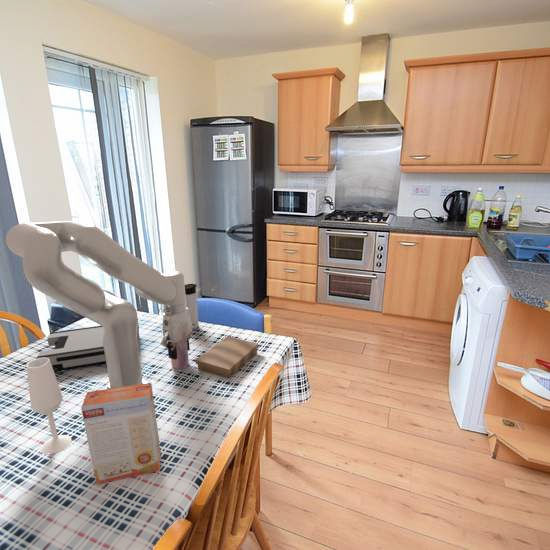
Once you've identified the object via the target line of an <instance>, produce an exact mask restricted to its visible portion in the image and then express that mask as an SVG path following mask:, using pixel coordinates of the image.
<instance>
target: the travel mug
mask: <svg viewBox="0 0 550 550" xmlns="http://www.w3.org/2000/svg"><path fill="white" fill-rule="evenodd" d="M185 296H186V307H187V308H188V310H189V313H190V317H191V323H192V326H193V329H192V332H193V331H196V330H198V329H199V327H200V326H199V325H200V324H199V323H200V322H199V311H198V310H199V309H198V296H197V283H196V284H195V283H187V284H185Z"/></svg>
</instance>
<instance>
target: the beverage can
mask: <svg viewBox="0 0 550 550" xmlns="http://www.w3.org/2000/svg"><path fill="white" fill-rule="evenodd" d="M181 333H182V339H181V340H180V341H178V342H176V343H175V349H176V353H177V359H176V360H174V359H171V358H170V360H171V362H170V363H171V366H172V367H173V368H174V369H176V370H182V369H184V368H187V367H188V365H189V363H190V359H189V351H188V346H187V336H186V332H185V330H184V329H182V332H181ZM170 345H171V346H172V342H170Z"/></svg>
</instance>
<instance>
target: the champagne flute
mask: <svg viewBox="0 0 550 550" xmlns="http://www.w3.org/2000/svg"><path fill="white" fill-rule="evenodd" d="M36 358H37V357H36ZM36 358H35V359H32V360H30V361H29V362H27V363H26V365H25V366H26V372H27V381H28V383H27V384H28V392H29V400H30V401H29V402H30V407H31V409H32V410H33V411H34V412H35V413H38V414H41V415H45V416H47V419H48V424H49V427H50V433H51V437H52V438H50V439H48V440H47V441H46V442H45V443H44V444H43V445H42V447H43V448H42V447H41V451H42V450H43V452H44V453H43V452H42V453H43V454H45V453H47V454H46V455H53V454H54V453H55V454H58V453H60V452H62V451H64V450H65V449H68V448H67V447H69V446H70V444H71V443H72V437H71V436H70V435H67V434H61V435H60V434H59V435H58V430H57V426H56V423H55V417H54V412H55V411H56V410H57V409H58V408H59V407H60V406H61V404H62V402H63V398H64V397H63V394H62V391H61V388H60V385H59V382H58V379H57V376H56V373H55V370H54V369H53V368H52V365H51V362H50V359H49V358H46V357H43V358H37V359H36ZM57 452H58V453H57ZM48 453H49V454H48Z"/></svg>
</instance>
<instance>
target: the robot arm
mask: <svg viewBox="0 0 550 550" xmlns="http://www.w3.org/2000/svg"><path fill="white" fill-rule="evenodd" d="M5 243H6V246H7V247H8V250H10V251H11V253H13V254H15V255H16V256H18V257H20V258H22V268H23V272H24V275H25V278H26V280H27V281H28V283H29V284H30V286H32V287H33V288H34V289H36V290H37V291H38V292H40V293H42V294H44V295H45V296H48V297H49V298H51V299H53V300H54V301H56V302H57V303H58V304H59V305H60V306H62V307H64V308H66V309H67V310H70V311H72V312H74V313H76V314H78V315H81V316H82V317H84V318H86V319H88V320H90V321H92V322H93V323H96V324H98V326H103V328H104V338H103V347H104V353H105V358H106V364H105V365H106V368H107V369H106V370H107V376H108V382H109V384H108V385H106V389H112V388H118V387H125V386H131V385H138V384H145V383H149V382H148V381H147V380H146V379H143V371H142V365H141V356H140V347H139V348H138V341H137V318H138V312H137V309H136V308H135V306H134V305H133V303H131V301H128V300H127V299H124V298H122V297H119V296H117V295H114V294H113V293H109V292H107V291H105V290H103V288H102V287H101V286H100V285H99V284H98V283H96V282H94V280H91V279H89V278H87V277H84V276H83V275H81V274H79V273H77V272H76V271H75V270H73V269H72V268H71V267H68V266H67V265H66V264H65V263H64V260H63V259H62V253H64V252H73V253H76V254H77V255H79V256H81V257H82V258H84V259H85V260H87V262H90V263H91V264H93V265H94V266H95V267H97V268H98V269H100V270H101V271H103V272H104V273H106V274H107V275H108V276H110V277H112V278H113V279H115V280H117V281H119V282H122V283H124V284H127V285H129V286H132V288H134V291H135V293H136V294H137V295H138V296H139V297H140V298H142V299H145V300H147V301H151V302H154V303H156V304H158V305H162V307H163V309H162V313H163V315H162V335H163V337H162V339H161V342H160V345H161V346H162V347H164V348H165V349H167V354H168V358H169V359H170V360H171V359H174V360H176V359H177V353H176V349H175V343H176V342H178V341H180V340H181V339H182V333H181V332H182V329H184V330H185V332H186V336H187V346H188V352H189V351H190V341H189V340H191V337H190V336H191V335H192V332H193V331H192V329H193V326H192V323H191V317H190V313H189V310H188V308H187V307H186V296H185V285H186V284H185V275H184V273H183V272H182V271H180V270H168V271H165V272H163V273H162V272H159V271H158V270H156V268H153V267H152V266H151V265H149V264H148V263H146V262H145V261H143V260H141V259H140V258H139V257H137V256H136V255H134V254H132V253H131V252H130V251H128V250H127V249H126V248H124V247H123V246H121V245H120V243H118V242H117V241H116V240H115V239H113V238H112V237H110V235H108V234H107V233H105V232H104V231H103V230H102V229H100V228H99V227H97V226H96V225H94V224H92V223H88V222H84V221H83V222H82V221H79V220H78V221H77V220H63V221H48V222H47V221H46V222H45V221H44V222H25V223H18V224H16V225H14V226H12V227H11V228H10V229H9V230H8V231H7V234H6V237H5ZM170 342H172V346H171V345H170Z"/></svg>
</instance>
